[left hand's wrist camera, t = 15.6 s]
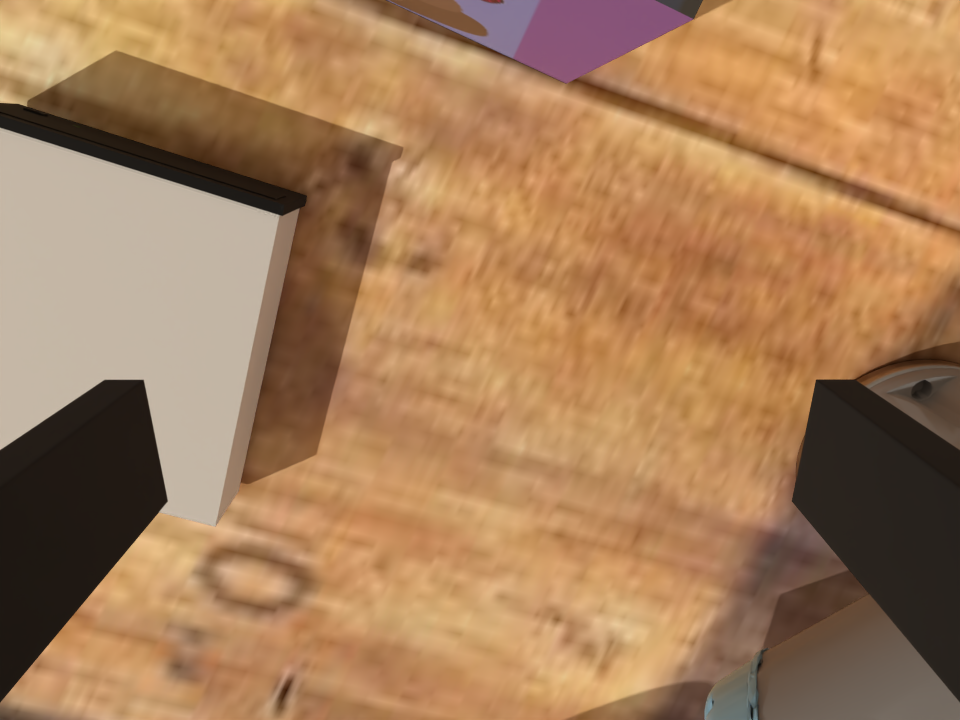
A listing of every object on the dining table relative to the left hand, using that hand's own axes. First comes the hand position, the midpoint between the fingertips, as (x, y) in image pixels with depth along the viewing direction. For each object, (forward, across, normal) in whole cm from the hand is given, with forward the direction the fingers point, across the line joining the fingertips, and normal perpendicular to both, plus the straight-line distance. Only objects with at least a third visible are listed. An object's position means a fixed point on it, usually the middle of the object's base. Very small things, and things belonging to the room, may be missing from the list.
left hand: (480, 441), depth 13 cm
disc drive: (+30, -23, -6) cm, 38 cm away
